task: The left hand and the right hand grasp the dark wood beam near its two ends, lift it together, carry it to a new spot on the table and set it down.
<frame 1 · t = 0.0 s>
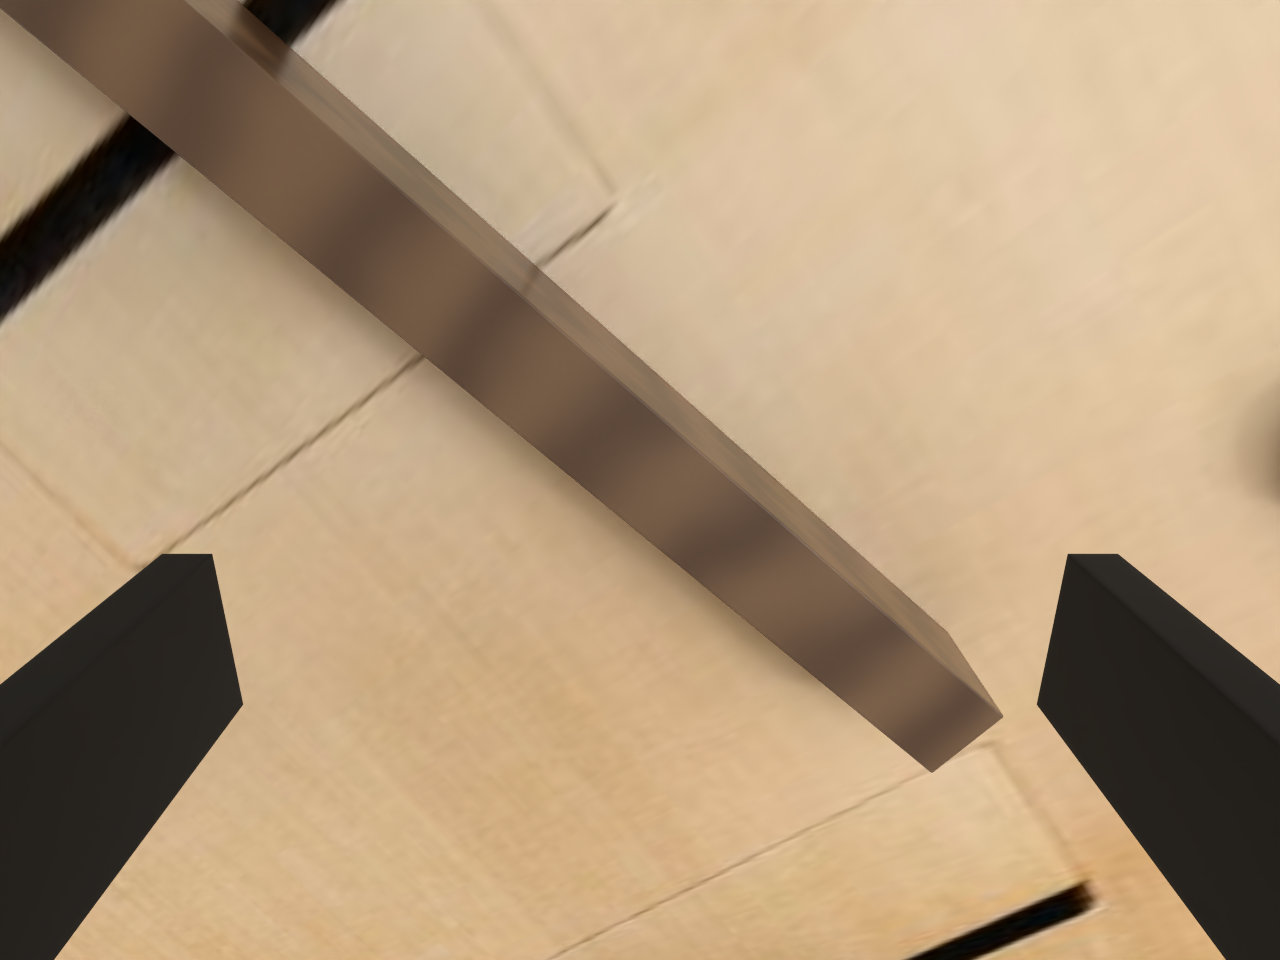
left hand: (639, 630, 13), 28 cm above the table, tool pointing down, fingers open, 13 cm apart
beam: (411, 219, 37), on the table
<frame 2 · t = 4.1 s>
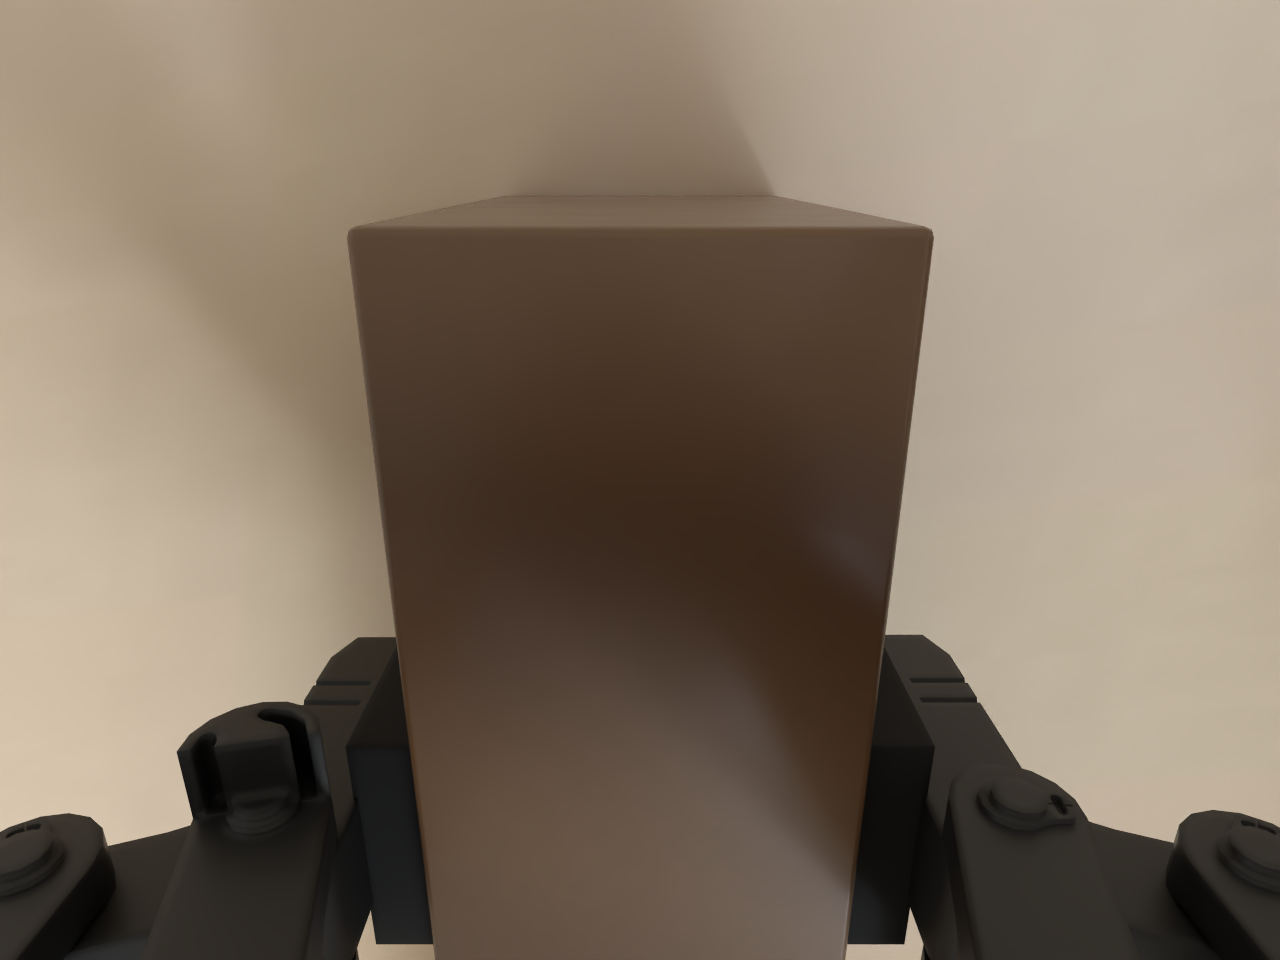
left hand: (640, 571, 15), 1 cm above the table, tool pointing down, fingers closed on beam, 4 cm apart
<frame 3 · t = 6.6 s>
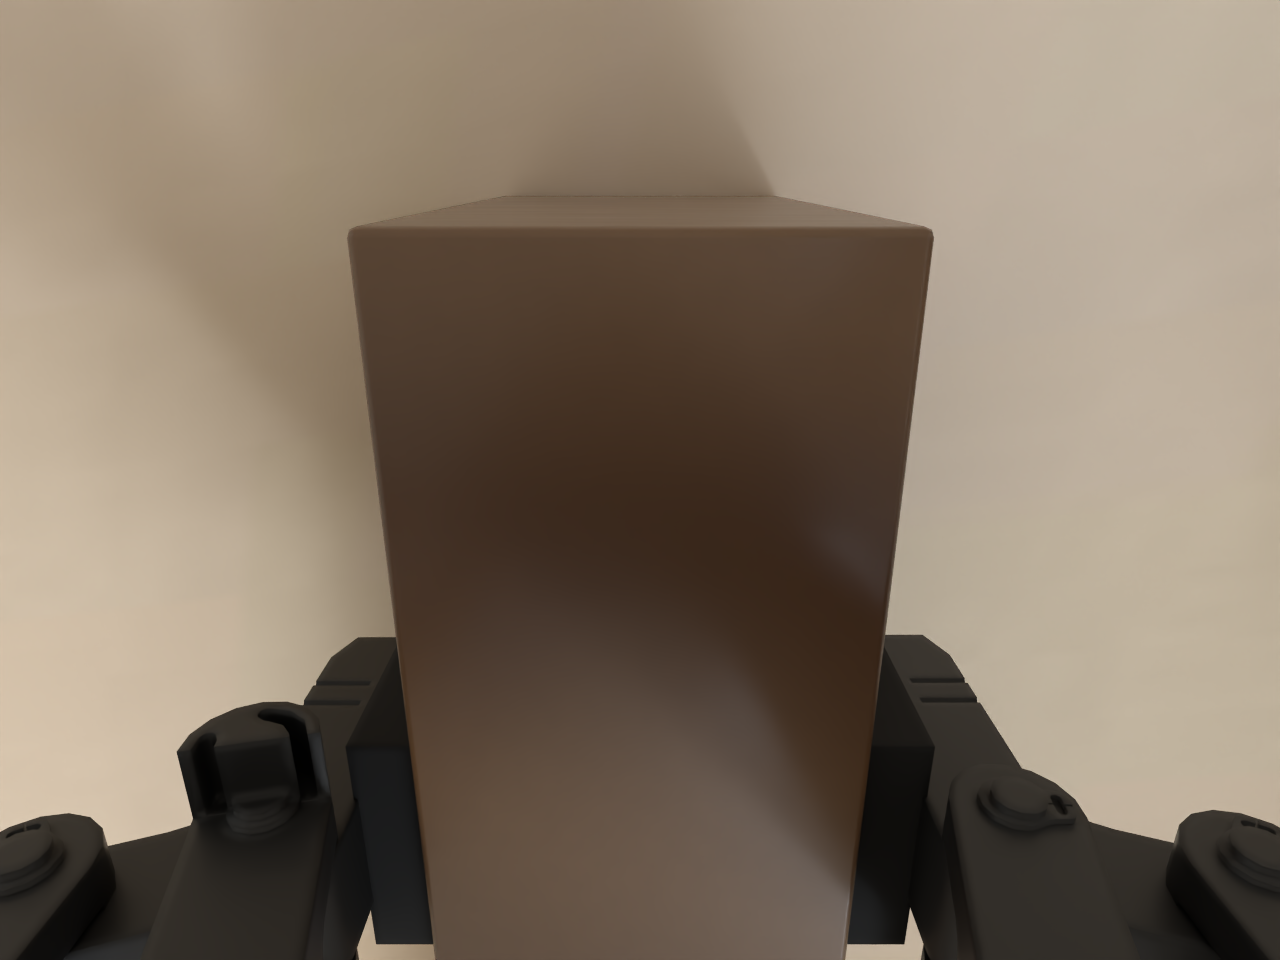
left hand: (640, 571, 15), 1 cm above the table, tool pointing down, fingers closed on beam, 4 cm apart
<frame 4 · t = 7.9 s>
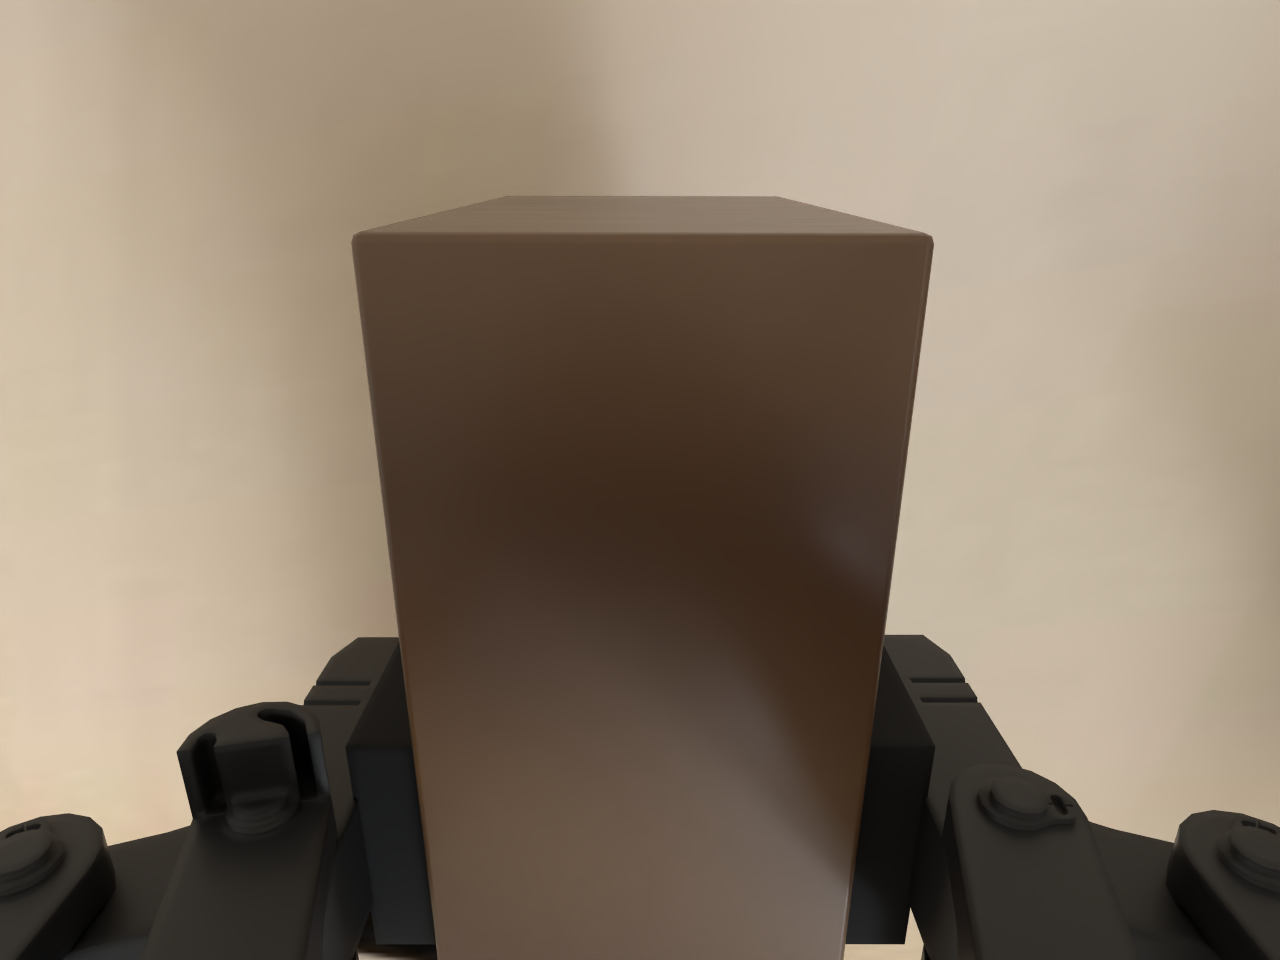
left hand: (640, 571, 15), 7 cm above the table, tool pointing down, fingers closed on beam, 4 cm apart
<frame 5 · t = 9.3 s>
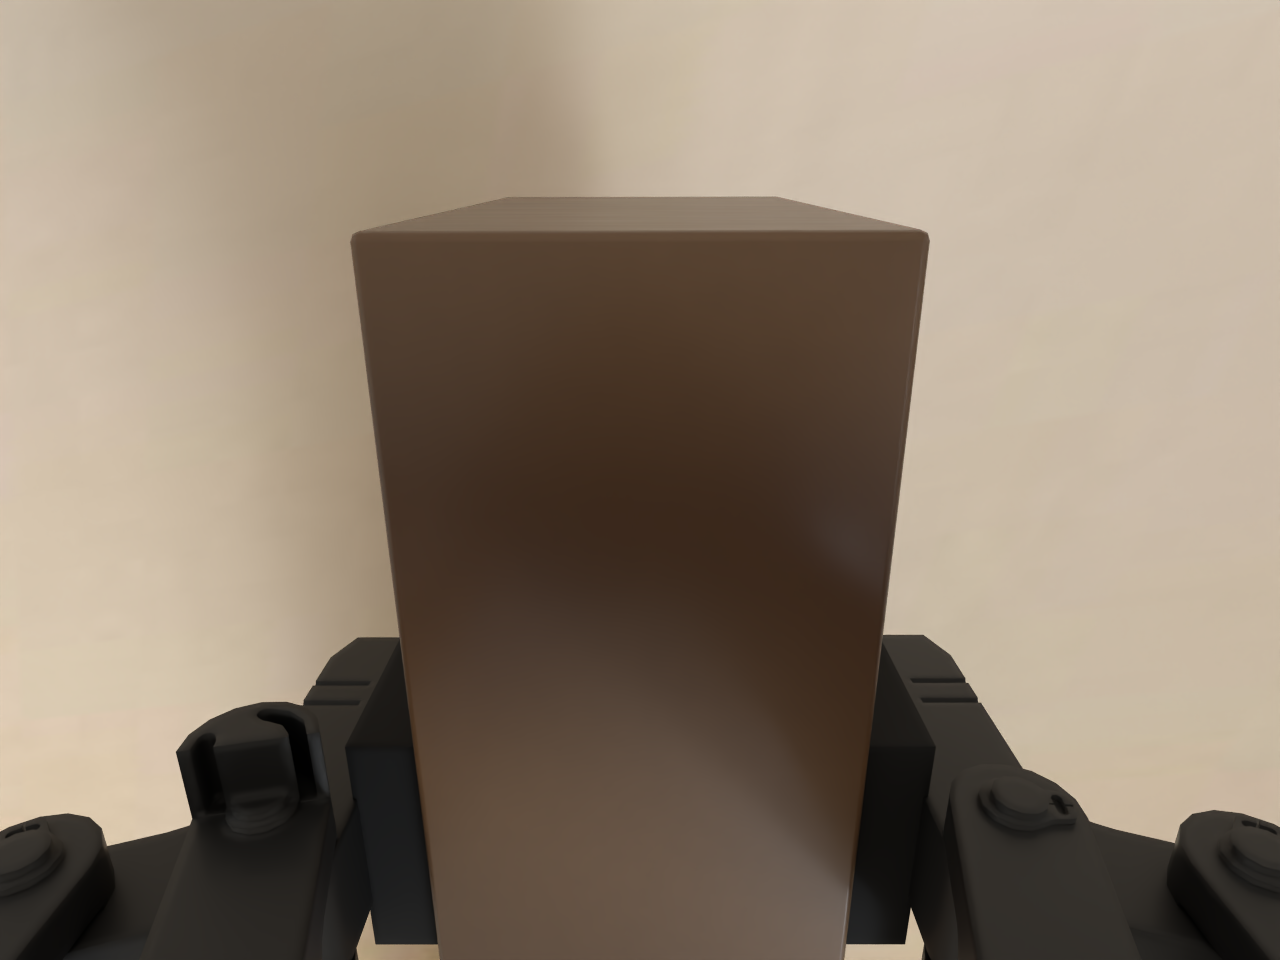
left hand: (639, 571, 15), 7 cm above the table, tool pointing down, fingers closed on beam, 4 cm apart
when the left hand's fingers open (2 cm above the table, at t = 11.9 s): beam drops 1 cm, on the table.
when the right hand's fingers open (4 cm above the table, at t = 12.1 s): beam stays where it is, on the table.
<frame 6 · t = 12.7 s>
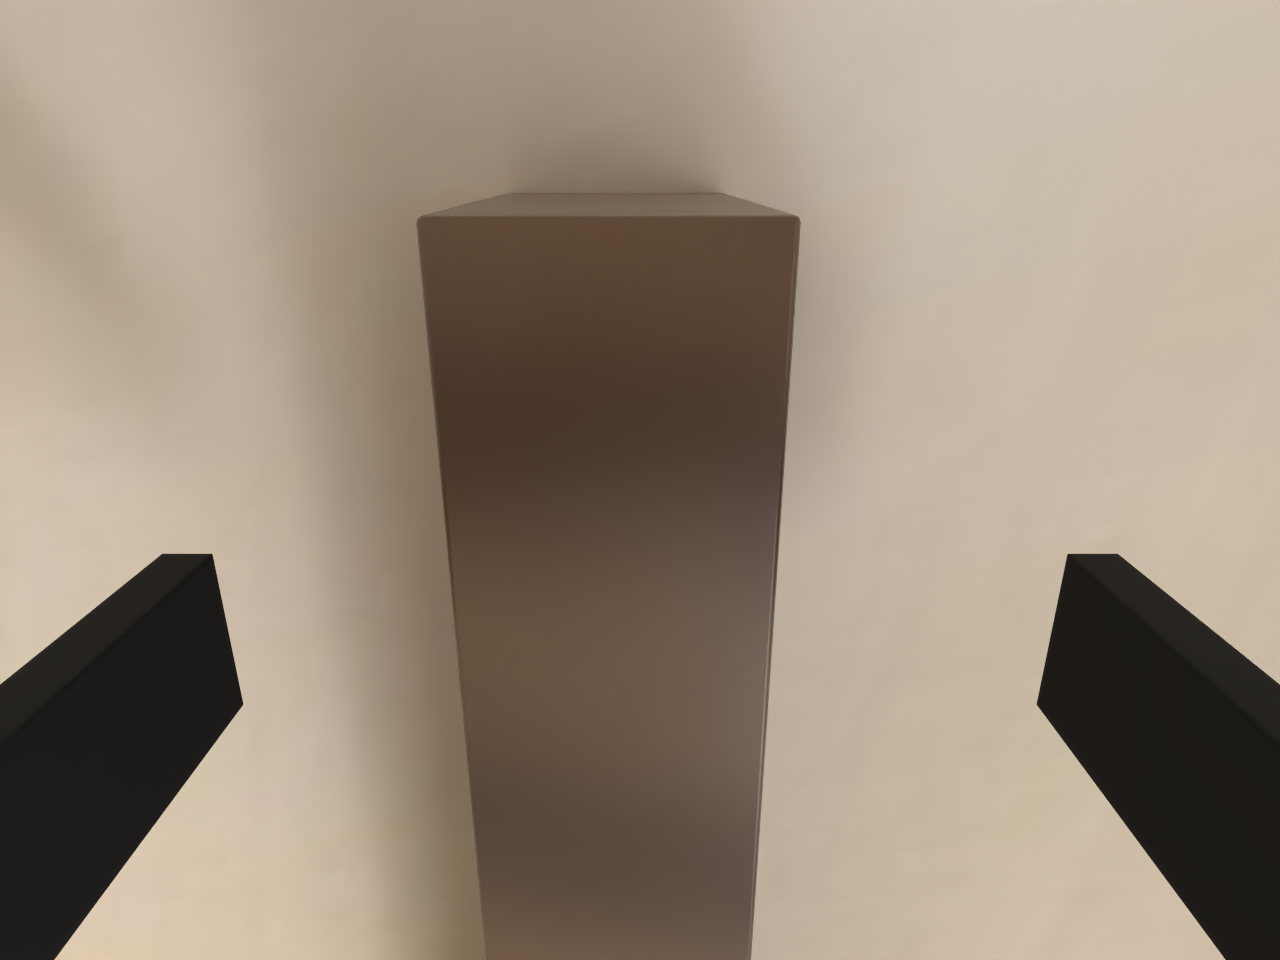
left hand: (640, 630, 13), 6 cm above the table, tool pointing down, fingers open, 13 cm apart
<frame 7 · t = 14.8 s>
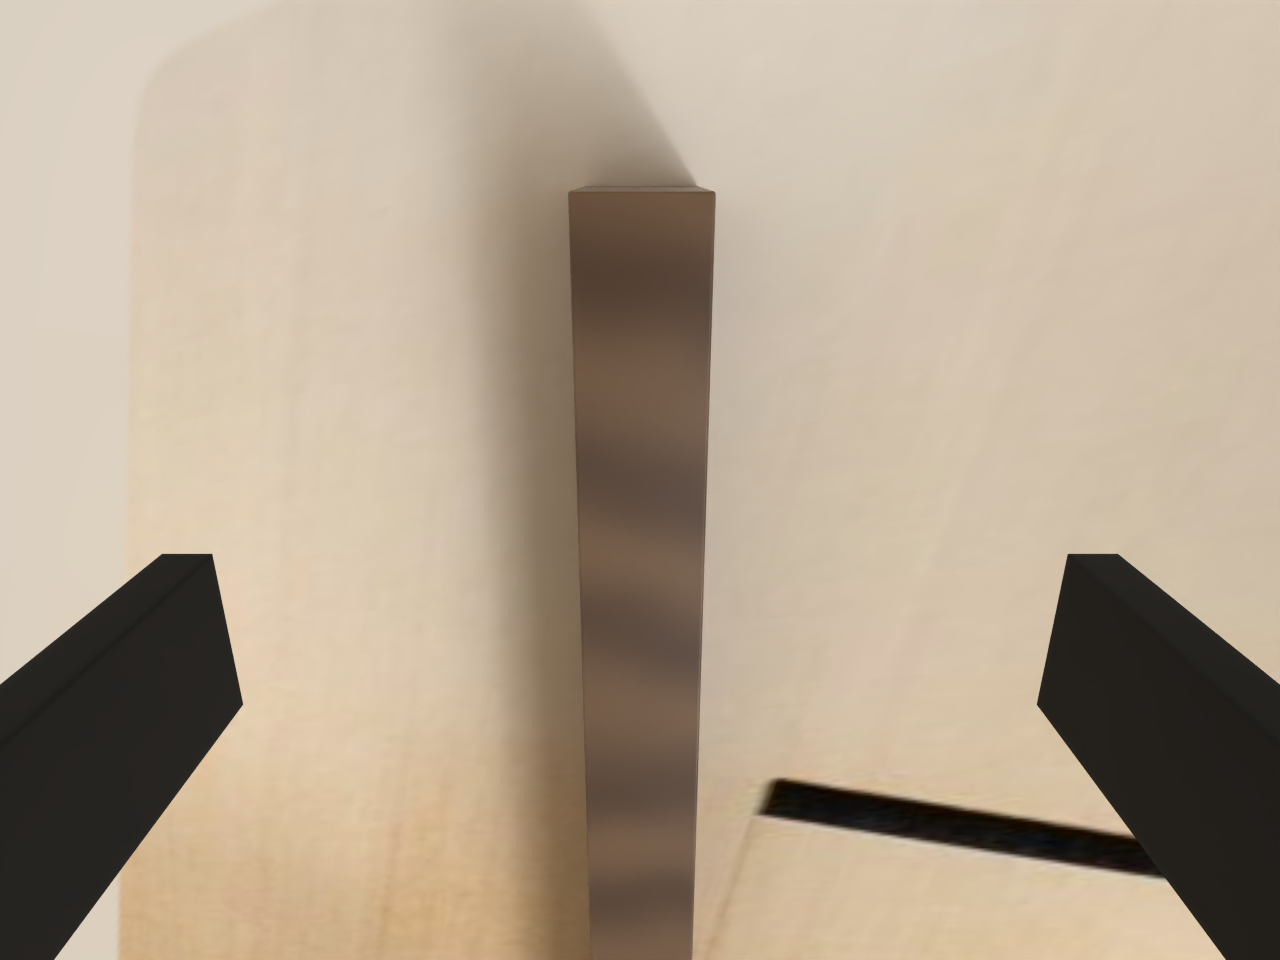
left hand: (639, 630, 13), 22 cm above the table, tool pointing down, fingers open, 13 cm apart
beam: (641, 878, 44), on the table
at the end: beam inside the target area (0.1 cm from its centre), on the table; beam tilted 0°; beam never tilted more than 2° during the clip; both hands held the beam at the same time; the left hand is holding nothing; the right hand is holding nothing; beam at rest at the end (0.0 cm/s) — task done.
